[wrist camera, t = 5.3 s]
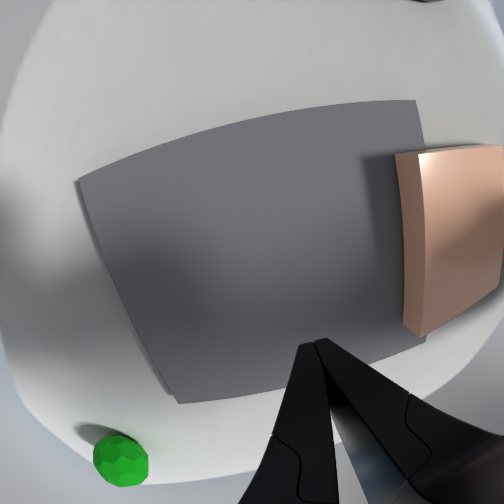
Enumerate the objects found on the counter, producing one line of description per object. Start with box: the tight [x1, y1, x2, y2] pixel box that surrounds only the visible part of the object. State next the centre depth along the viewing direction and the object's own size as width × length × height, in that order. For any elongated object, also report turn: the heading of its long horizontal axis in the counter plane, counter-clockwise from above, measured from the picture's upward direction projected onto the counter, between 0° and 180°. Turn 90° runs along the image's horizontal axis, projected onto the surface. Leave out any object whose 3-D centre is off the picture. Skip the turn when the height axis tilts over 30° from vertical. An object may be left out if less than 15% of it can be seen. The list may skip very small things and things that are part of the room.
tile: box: [395, 144, 504, 338], centre depth 11 cm, size 2×9×8 cm
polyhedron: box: [93, 435, 148, 487], centre depth 16 cm, size 5×5×5 cm
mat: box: [78, 100, 426, 404], centre depth 13 cm, size 16×14×1 cm
